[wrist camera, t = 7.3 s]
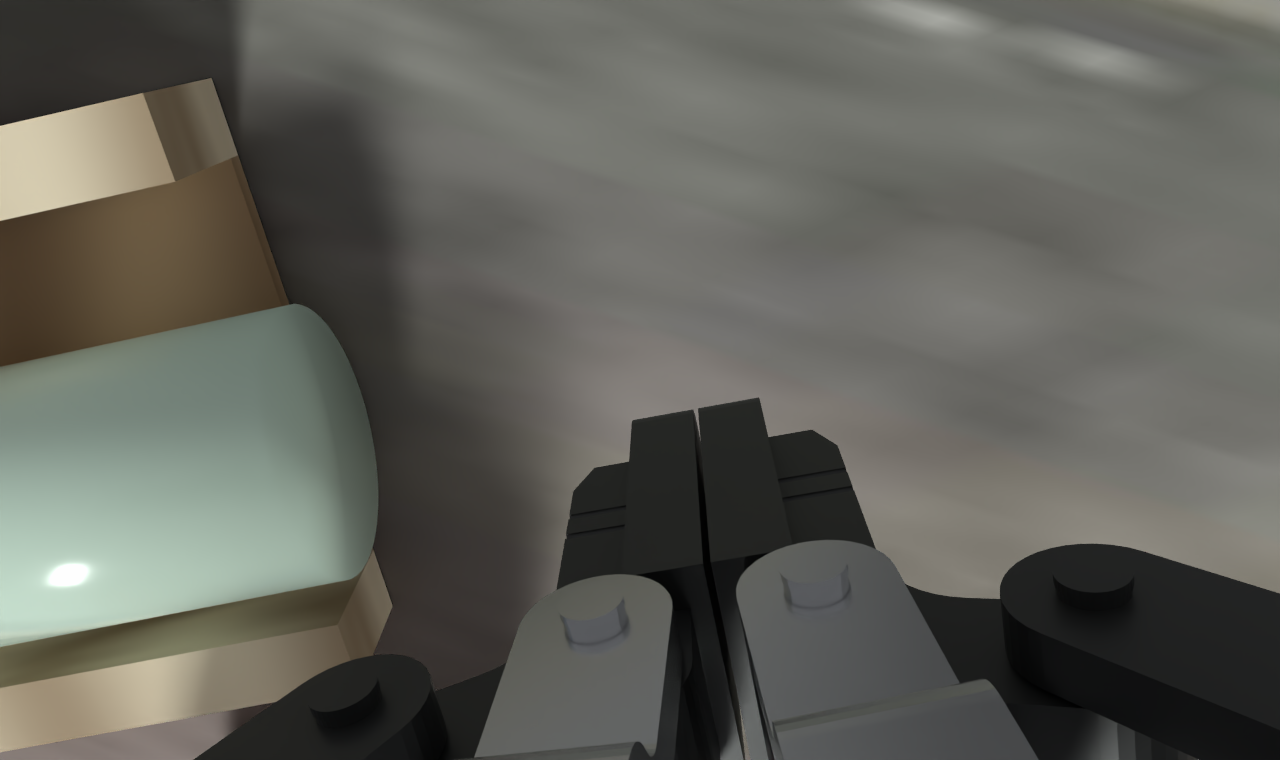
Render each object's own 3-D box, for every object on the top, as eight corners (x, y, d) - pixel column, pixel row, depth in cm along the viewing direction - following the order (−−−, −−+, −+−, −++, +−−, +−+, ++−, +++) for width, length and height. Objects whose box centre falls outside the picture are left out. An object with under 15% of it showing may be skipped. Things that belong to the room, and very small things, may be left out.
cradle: (211, 78, 21) (143, 92, 18) (392, 606, 25) (360, 686, 22) (-355, 208, 21) (-506, 242, 19) (-90, 696, 26) (-181, 784, 23)
